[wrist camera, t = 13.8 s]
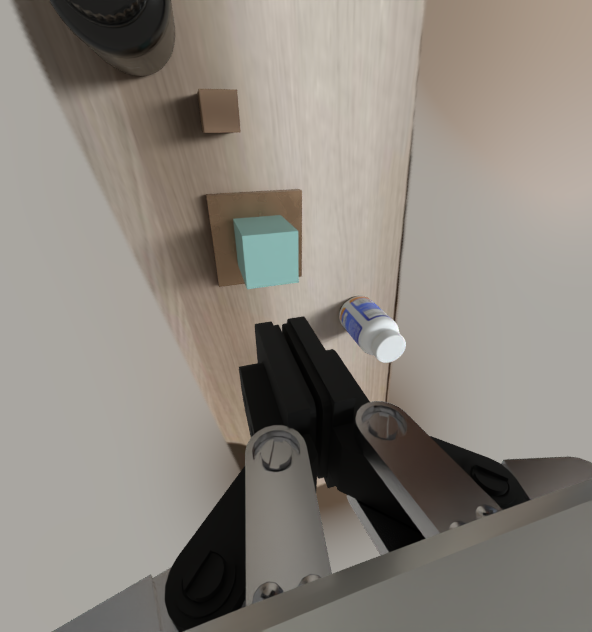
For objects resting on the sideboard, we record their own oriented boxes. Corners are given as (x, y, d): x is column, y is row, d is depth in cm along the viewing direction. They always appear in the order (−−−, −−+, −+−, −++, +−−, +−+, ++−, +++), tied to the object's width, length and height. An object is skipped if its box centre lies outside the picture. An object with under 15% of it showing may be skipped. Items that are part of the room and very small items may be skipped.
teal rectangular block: (233, 218, 34) (242, 236, 28) (280, 214, 35) (298, 230, 29) (238, 265, 36) (247, 289, 31) (282, 260, 37) (298, 282, 32)
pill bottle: (353, 333, 48) (387, 374, 40) (330, 316, 45) (362, 357, 37) (379, 307, 47) (419, 344, 39) (357, 287, 44) (395, 323, 36)
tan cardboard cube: (197, 93, 28) (198, 88, 25) (231, 94, 29) (237, 89, 26) (202, 132, 30) (204, 132, 27) (234, 132, 31) (240, 132, 27)
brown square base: (205, 194, 33) (210, 208, 27) (299, 189, 35) (321, 200, 29) (218, 283, 38) (224, 311, 32) (299, 273, 40) (318, 297, 34)
